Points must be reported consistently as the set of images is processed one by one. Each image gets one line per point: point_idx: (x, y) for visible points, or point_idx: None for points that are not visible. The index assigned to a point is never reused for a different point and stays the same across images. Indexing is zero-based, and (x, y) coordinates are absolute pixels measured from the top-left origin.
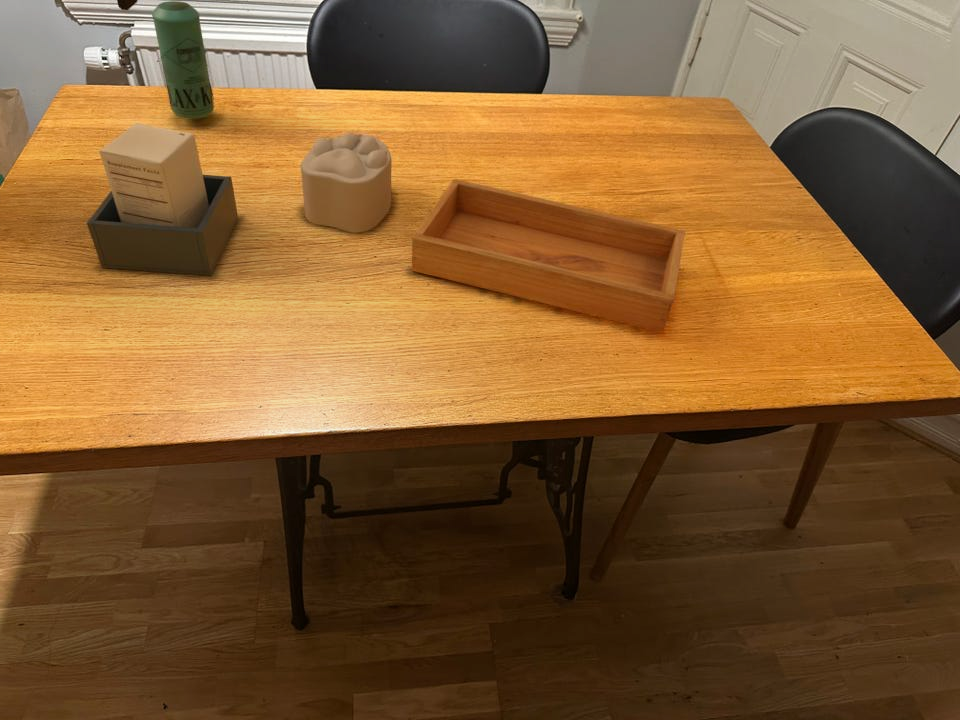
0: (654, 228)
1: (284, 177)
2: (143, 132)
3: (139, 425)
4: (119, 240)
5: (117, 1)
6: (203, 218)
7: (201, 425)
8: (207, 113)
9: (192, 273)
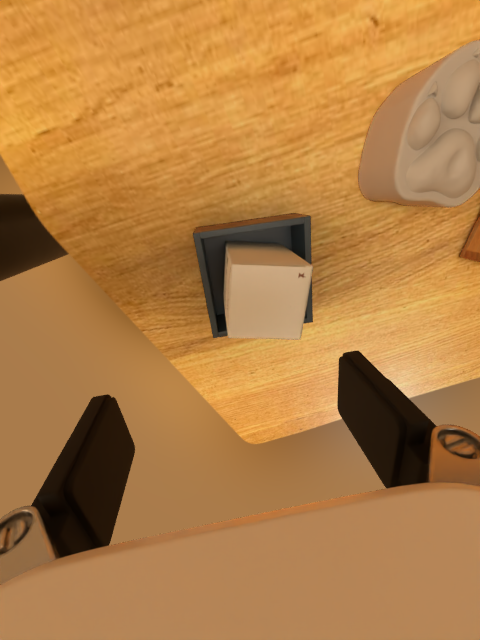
0: None
1: (321, 94)
2: (255, 286)
3: (302, 423)
4: None
5: (344, 421)
6: (307, 302)
7: (332, 416)
8: None
9: None
